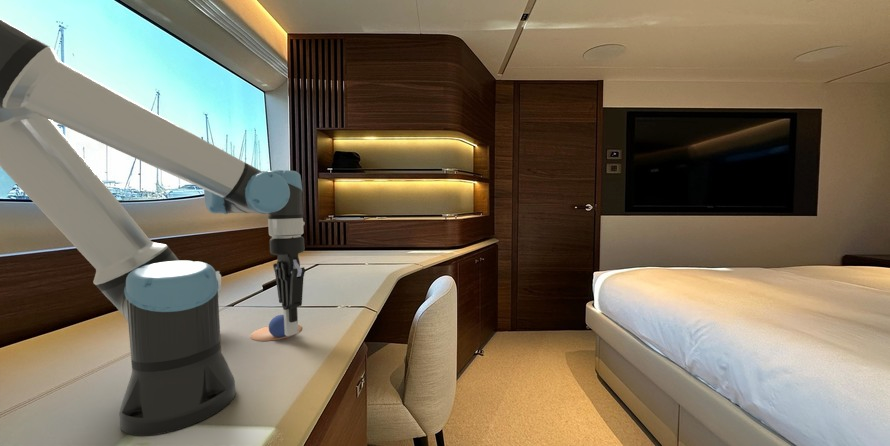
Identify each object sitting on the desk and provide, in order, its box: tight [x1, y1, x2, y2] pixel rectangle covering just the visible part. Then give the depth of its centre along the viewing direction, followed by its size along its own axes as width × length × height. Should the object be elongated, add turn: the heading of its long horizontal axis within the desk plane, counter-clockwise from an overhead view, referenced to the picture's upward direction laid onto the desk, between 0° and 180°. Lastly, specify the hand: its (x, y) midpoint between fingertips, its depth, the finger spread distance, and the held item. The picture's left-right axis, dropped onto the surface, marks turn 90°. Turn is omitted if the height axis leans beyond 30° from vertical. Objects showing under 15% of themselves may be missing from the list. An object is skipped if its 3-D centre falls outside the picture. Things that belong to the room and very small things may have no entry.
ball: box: [268, 314, 286, 338], centre depth 88 cm, size 6×6×6 cm
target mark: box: [250, 324, 302, 342], centre depth 92 cm, size 12×12×1 cm
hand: (291, 333), depth 85 cm, fingers closed
